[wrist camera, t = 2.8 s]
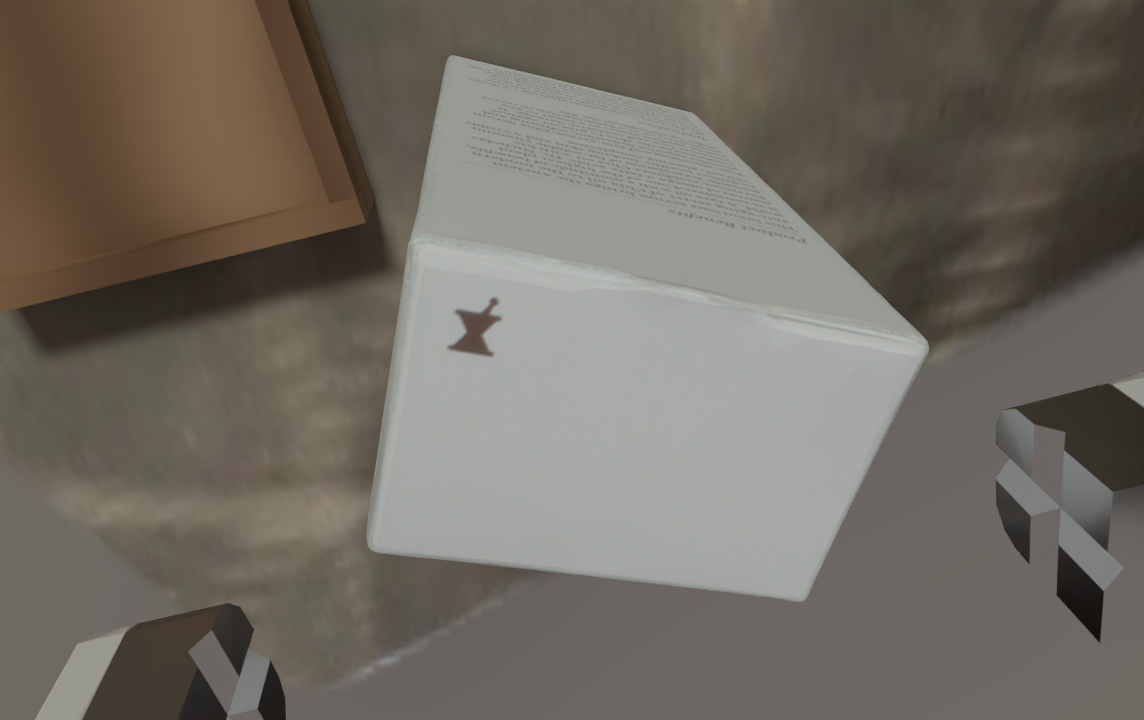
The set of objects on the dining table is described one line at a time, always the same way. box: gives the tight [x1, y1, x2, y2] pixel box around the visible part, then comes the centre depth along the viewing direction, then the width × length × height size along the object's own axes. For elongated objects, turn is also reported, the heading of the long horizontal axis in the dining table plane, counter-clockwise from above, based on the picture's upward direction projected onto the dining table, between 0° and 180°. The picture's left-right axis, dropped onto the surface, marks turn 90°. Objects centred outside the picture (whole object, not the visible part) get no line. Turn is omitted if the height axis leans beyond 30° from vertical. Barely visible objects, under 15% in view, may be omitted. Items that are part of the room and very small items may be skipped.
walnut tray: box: [0, 0, 375, 313], centre depth 17 cm, size 9×9×2 cm
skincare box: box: [366, 55, 929, 602], centre depth 15 cm, size 6×4×12 cm
